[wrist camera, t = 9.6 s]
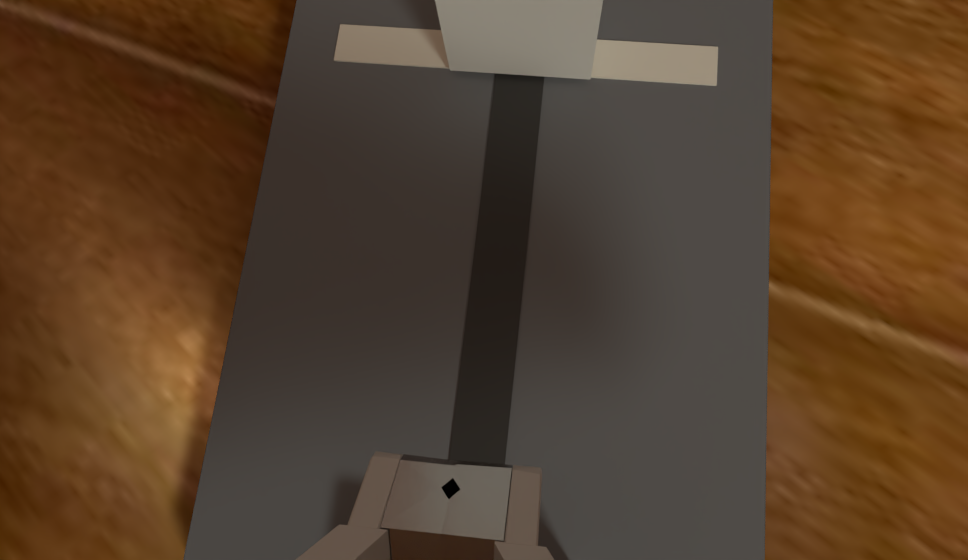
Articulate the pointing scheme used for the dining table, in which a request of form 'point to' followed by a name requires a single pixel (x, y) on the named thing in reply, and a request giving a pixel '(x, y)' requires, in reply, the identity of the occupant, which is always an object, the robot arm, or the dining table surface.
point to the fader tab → (521, 36)
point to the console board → (507, 283)
